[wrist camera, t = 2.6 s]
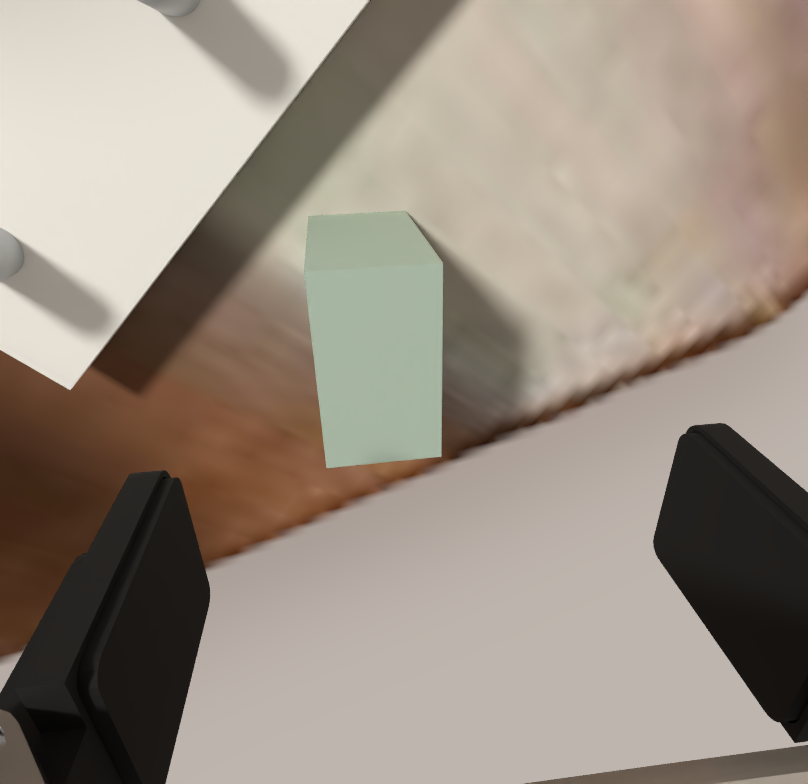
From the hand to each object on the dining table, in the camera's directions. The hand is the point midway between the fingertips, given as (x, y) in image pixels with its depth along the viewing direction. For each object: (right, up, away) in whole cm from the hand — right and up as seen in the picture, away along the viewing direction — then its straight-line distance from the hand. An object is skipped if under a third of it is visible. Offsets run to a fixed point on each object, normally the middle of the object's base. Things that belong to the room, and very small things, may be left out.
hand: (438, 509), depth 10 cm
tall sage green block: (-2, +6, +11) cm, 13 cm away
